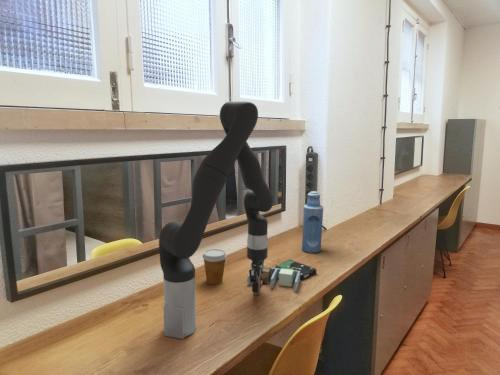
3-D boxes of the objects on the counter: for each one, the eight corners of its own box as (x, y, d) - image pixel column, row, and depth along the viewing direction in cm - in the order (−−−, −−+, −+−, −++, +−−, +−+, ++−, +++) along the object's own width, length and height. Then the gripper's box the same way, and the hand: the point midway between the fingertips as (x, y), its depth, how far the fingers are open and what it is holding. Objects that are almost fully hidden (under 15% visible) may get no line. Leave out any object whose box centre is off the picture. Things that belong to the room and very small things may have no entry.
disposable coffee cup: (229, 277, 146) (229, 249, 144) (221, 287, 137) (221, 258, 135) (208, 274, 148) (207, 247, 146) (198, 284, 139) (198, 255, 137)
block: (291, 286, 139) (291, 274, 138) (278, 285, 140) (279, 273, 139) (293, 281, 143) (293, 269, 143) (280, 280, 145) (281, 268, 144)
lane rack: (296, 292, 134) (296, 282, 134) (247, 285, 139) (247, 275, 138) (299, 280, 145) (300, 270, 144) (254, 274, 149) (254, 265, 149)
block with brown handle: (262, 295, 131) (262, 275, 129) (249, 294, 132) (249, 273, 131) (270, 278, 146) (271, 259, 144) (258, 277, 147) (259, 258, 146)
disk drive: (316, 275, 151) (289, 264, 162) (317, 268, 151) (289, 258, 161) (302, 282, 144) (274, 271, 154) (302, 275, 144) (274, 264, 154)
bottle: (319, 247, 184) (322, 190, 179) (321, 254, 174) (325, 194, 169) (301, 246, 185) (303, 189, 180) (302, 253, 175) (304, 193, 170)
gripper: (263, 252, 122) (262, 299, 125) (271, 240, 135) (270, 282, 138) (242, 250, 123) (241, 296, 126) (252, 238, 137) (251, 280, 140)
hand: (256, 289), depth 132 cm, fingers open, 3 cm apart
